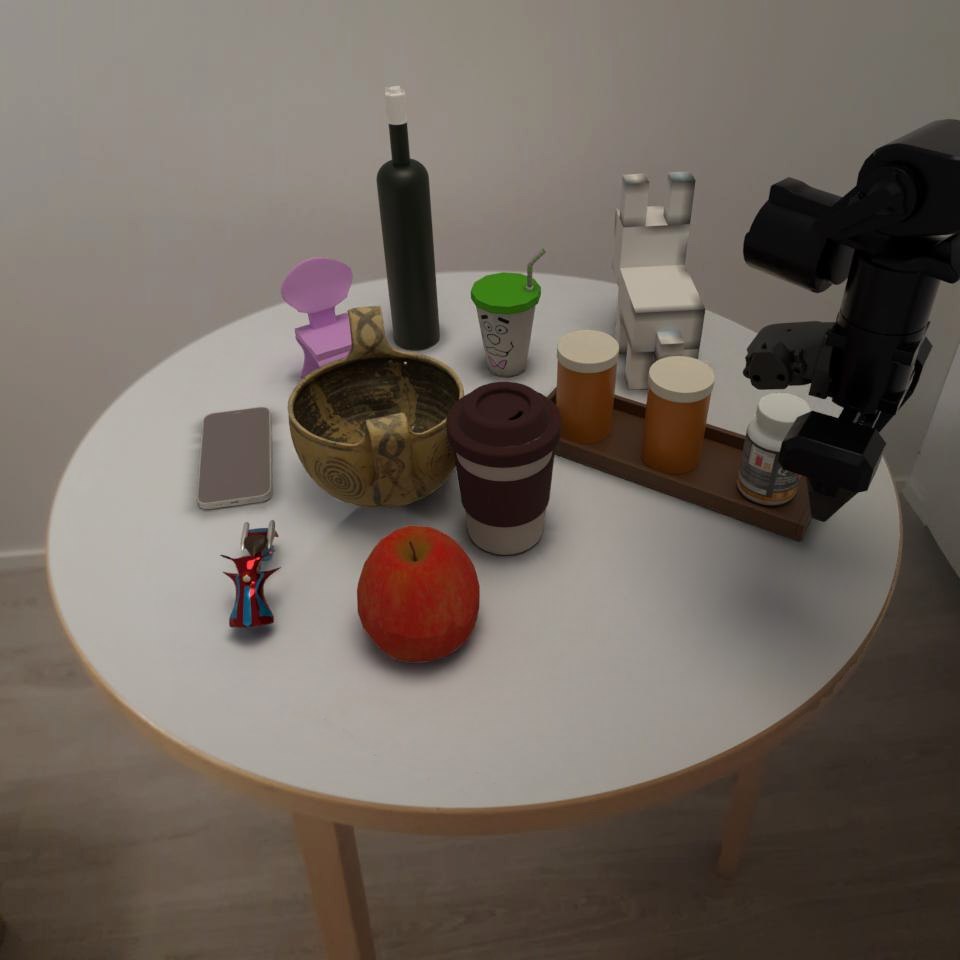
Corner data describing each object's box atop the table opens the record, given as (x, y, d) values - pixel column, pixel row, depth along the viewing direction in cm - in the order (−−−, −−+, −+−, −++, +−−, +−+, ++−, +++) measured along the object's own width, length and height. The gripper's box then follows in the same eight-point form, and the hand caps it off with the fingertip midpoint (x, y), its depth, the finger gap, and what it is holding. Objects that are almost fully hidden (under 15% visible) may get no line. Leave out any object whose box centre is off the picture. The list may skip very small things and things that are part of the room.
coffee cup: (443, 506, 90) (434, 380, 80) (540, 487, 91) (542, 362, 82) (467, 577, 82) (459, 448, 73) (571, 555, 84) (577, 427, 74)
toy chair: (321, 416, 101) (299, 297, 92) (291, 379, 107) (268, 263, 97) (387, 393, 105) (373, 275, 95) (355, 357, 110) (339, 243, 100)
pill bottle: (781, 516, 87) (802, 434, 80) (725, 493, 89) (741, 411, 83) (805, 484, 90) (827, 402, 83) (750, 462, 93) (768, 382, 86)
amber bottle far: (622, 420, 99) (629, 339, 92) (596, 451, 95) (602, 369, 88) (571, 403, 101) (574, 323, 94) (544, 433, 97) (545, 352, 91)
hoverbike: (222, 647, 77) (207, 603, 73) (239, 547, 86) (226, 504, 83) (283, 642, 77) (271, 598, 74) (293, 543, 86) (283, 499, 83)
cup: (461, 374, 107) (455, 258, 97) (493, 342, 112) (491, 228, 102) (520, 392, 104) (520, 273, 94) (551, 358, 109) (553, 242, 99)
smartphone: (195, 505, 90) (202, 414, 101) (197, 511, 90) (204, 420, 101) (271, 494, 90) (270, 405, 102) (273, 501, 91) (271, 412, 102)
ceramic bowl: (490, 544, 85) (486, 416, 76) (309, 573, 83) (280, 446, 74) (451, 407, 102) (443, 287, 92) (298, 428, 100) (274, 308, 90)
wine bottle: (447, 330, 114) (431, 81, 95) (428, 354, 110) (407, 99, 91) (406, 322, 116) (382, 76, 96) (385, 345, 112) (356, 94, 93)
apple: (451, 569, 83) (444, 483, 76) (503, 648, 76) (501, 561, 69) (345, 609, 80) (329, 523, 73) (390, 696, 73) (376, 609, 66)
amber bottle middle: (710, 448, 94) (724, 366, 88) (687, 482, 91) (700, 399, 84) (654, 430, 97) (664, 349, 90) (630, 463, 93) (638, 380, 86)
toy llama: (632, 402, 102) (648, 236, 89) (607, 321, 115) (618, 165, 102) (699, 399, 102) (725, 232, 89) (666, 317, 115) (685, 162, 102)
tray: (831, 479, 91) (835, 463, 90) (800, 541, 85) (804, 525, 83) (563, 392, 104) (564, 378, 102) (518, 441, 97) (518, 426, 96)
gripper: (809, 237, 72) (776, 398, 82) (722, 347, 61) (696, 519, 71) (958, 268, 68) (904, 435, 78) (896, 394, 56) (841, 572, 66)
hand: (835, 485), depth 73 cm, fingers open, 9 cm apart
